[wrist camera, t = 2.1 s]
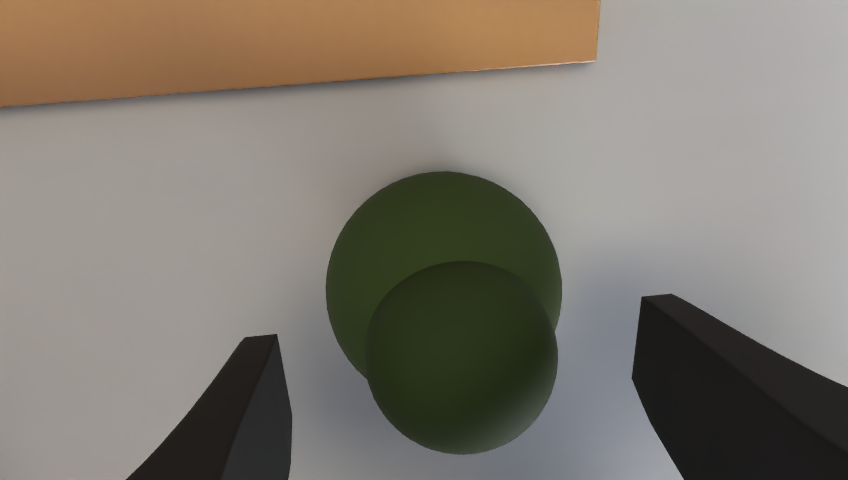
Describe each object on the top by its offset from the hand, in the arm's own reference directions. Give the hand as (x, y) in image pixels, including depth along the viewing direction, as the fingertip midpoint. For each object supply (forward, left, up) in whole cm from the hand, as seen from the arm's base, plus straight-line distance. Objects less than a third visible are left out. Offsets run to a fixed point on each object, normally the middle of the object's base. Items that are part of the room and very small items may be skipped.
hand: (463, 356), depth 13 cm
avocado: (0, 0, -6) cm, 6 cm away
